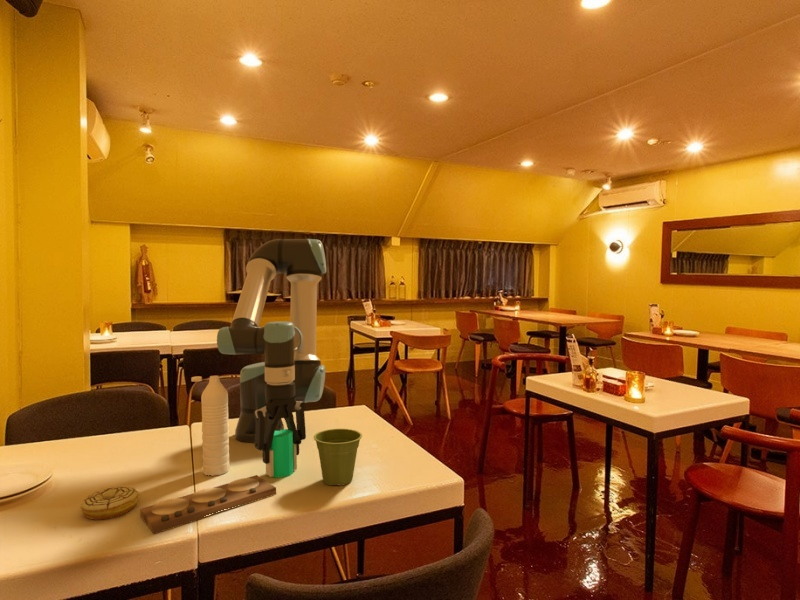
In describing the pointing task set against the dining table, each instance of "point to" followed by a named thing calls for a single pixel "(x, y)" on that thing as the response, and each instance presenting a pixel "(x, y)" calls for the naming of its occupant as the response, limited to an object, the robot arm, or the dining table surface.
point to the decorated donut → (109, 502)
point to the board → (205, 503)
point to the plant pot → (337, 454)
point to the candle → (282, 453)
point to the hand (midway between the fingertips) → (281, 471)
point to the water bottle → (214, 427)
